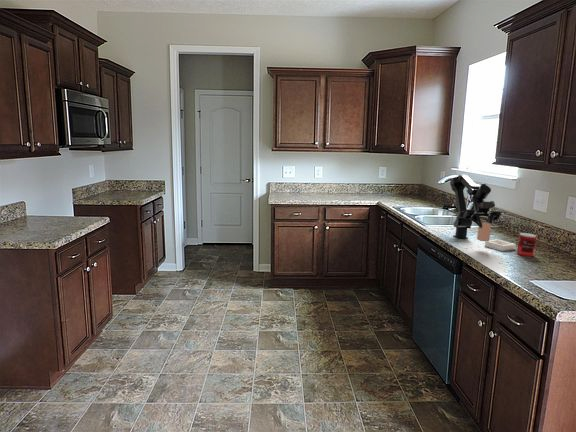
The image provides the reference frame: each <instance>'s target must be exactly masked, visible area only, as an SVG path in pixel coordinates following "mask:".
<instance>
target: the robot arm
mask: <svg viewBox="0 0 576 432" xmlns="http://www.w3.org/2000/svg"><path fill="white" fill-rule="evenodd" d="M449 185H450V187H451V191H453V192H454V195H455V201H456V206H457V211H458V212H457V215H456V217H455V220H454V221H453V228H455V233H454V235H452V237H453V238H457V239H469V237H467V235H468V229H471V228H472V224H473V223H474V224H476V225H477V226H478V228H479V227H480V228H482V224H481V222H482V221H481V217H483V218H484V217H485V218H486V220H485V222H488V223H490V224H493V221H498V220H499V219H500V217H501V216H502V212H501V210H492V212H490V209H492V208H495V207H496V203H495V201H494V200H493V201H492V200H490V201H485V200H486V199H487V198H488V196H489V195H490V193H491V192H492V188H491V187H490V186H488V185H487V184H486V183H481V184H478V183H476V182H474V181H473V180H472V179H471V178H470V176H469V175H468V174H459V175H458V176H455V177H453V178H451V180H450V181H449ZM464 189H467V190H466V192H467V194H468V195H469V196H472V197H471V199H470V202H471V203H472V204H473V208H472V209H467V205H466V204H467V203H466V200H465V199H466V198H465V193H464Z"/></svg>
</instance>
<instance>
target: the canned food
mask: <svg viewBox="0 0 576 432" xmlns="http://www.w3.org/2000/svg"><path fill="white" fill-rule="evenodd" d="M536 242H537V235H536V234H533V233H528V232H520V233H519V237H518V243H517V249H516V250H517V251H516V253H517V255H518V256H522V257H530V258H532V257H533V256H534V253H535V249H536Z"/></svg>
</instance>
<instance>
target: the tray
mask: <svg viewBox="0 0 576 432" xmlns="http://www.w3.org/2000/svg"><path fill="white" fill-rule="evenodd" d="M484 242H485V243H484V247H486V248H489V249H493V250H497V251H500V252H501V251H502V252H507V251H513V250H516V246H517V245H516V243H512V242H509V241H506V240H502V239H491V240H490V239H489V241H484Z"/></svg>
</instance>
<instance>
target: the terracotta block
mask: <svg viewBox="0 0 576 432" xmlns="http://www.w3.org/2000/svg"><path fill="white" fill-rule="evenodd" d="M481 224H482V228H480V227H479V226H478V229H477V235H476V239H477V240H478V241H480V242H485V241H490V238H491V230H492V224H493V223H492V224H490V223H488V222H486V221H481Z"/></svg>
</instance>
